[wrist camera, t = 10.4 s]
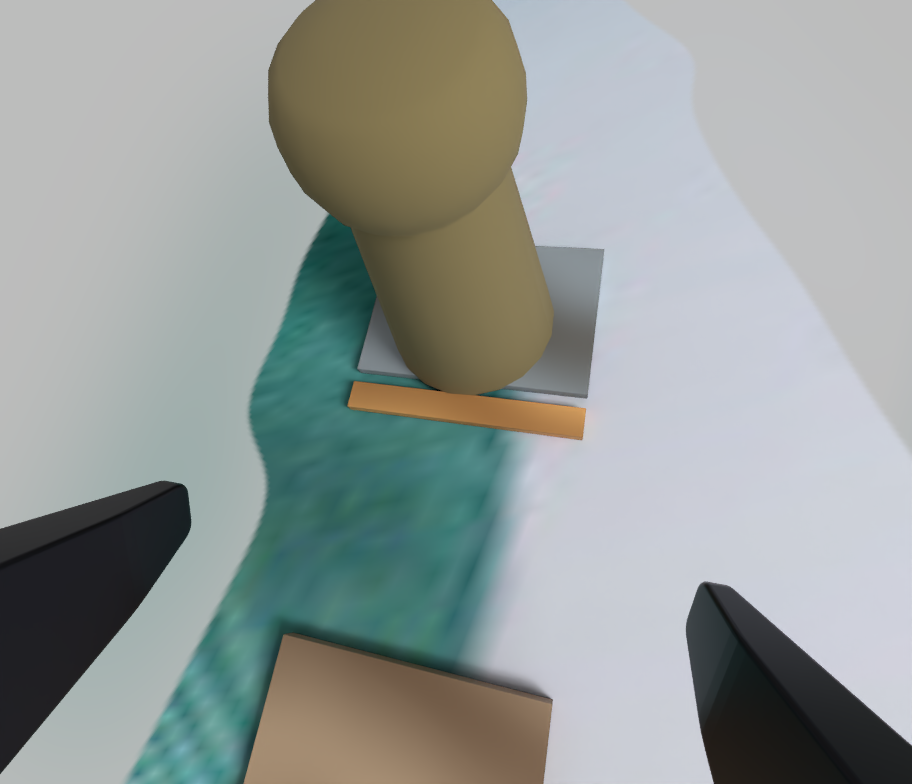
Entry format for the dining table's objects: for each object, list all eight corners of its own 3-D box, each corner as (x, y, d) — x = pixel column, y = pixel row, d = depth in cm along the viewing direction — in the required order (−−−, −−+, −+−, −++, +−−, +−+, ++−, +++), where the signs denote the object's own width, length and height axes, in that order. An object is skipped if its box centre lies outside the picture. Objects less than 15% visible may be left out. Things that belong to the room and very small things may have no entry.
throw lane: (451, 1583, 10) (444, 1642, 9) (107, 1337, 12) (84, 1374, 11) (603, 255, 19) (604, 245, 19) (394, 245, 21) (390, 236, 21)
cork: (364, 345, 19) (149, 92, 9) (454, 228, 20) (349, -114, 10) (493, 426, 17) (398, 215, 7) (586, 292, 18) (617, -58, 8)
